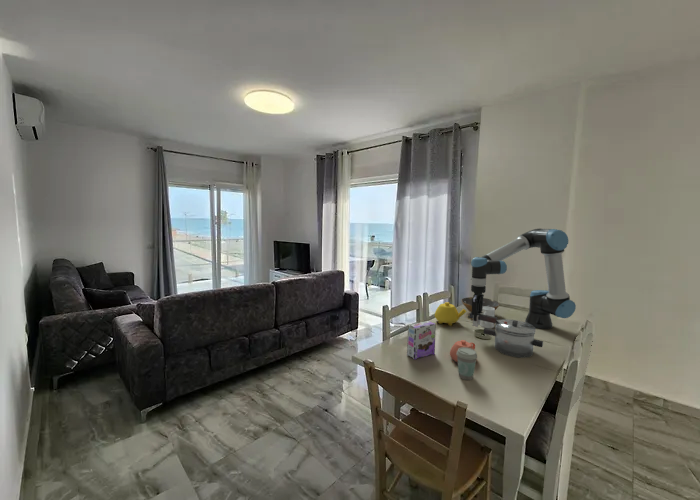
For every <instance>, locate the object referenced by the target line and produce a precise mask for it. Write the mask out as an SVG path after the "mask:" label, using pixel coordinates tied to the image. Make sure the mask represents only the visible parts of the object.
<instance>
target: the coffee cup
mask: <svg viewBox="0 0 700 500" xmlns="http://www.w3.org/2000/svg"><path fill="white" fill-rule="evenodd" d="M456 354H457V359H458V362H457V369H458V370H457V371H458V377H459V378H461V379H462V380H463V381H464V380H465V381H471V380H473V378H474V372H475V369H476V362H477V359H478V354H477V351H476V349H475V350H473V349H471V348H466V347H462V348H459V349H458V351H457V353H456Z"/></svg>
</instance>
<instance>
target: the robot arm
mask: <svg viewBox="0 0 700 500" xmlns="http://www.w3.org/2000/svg"><path fill="white" fill-rule="evenodd" d="M568 245H569V237H568V234H567V233H566V232H565V231H563V230H561V229H556V228H553V229H552V228H535V229H531V230H529V231H527V232H524V233H522V234H520V235H518V236H517V237H516V238H515V239H513V240H511V241H510V242H508V243H506V244H504V245H502V246H500V247H498V248H496V249H494V250H492V251H490V252H489V253H487V254H484V255H482V256H481V257H480V256H475V257H473V258H472V259H471V261H470V263H471V277H470V280H471V285H470V289H471V292H472V293H473V296H472V297H473V298H472V314H471V315H473V318H472V327H477V328H478V327H479V326H480V321H481V320H478V313H479V314H481V313H483V312H481V311H482V308H483V298H485V297H484V296H485V294H484V293H486V288H487V287H486V285H487V275H503V274H505V273H506V272H507V271H508V270H507V269H508V267H507V264H506V262H505V261H504V260H505V259H507V258H509V257H511V256H513V255H516V254H517V253H520V252H521V251H524V250H529V249H533V248H539V249H540V254H542V255H543V256H544V264H545V265H544V266H545V271H546V273H545V274H546V280H547V281H546V282H547V289H548V290H544V289H543V290H542V289H536V290H535V289H534V290H532V291H530V295H529V304H528V305H529V309H528V310H529V311H528V313H527V316H526V318H525V321H524V322H526V323H528V324H531V325H533V326H534V327H535V328H536V329H541V330H549V329H553V321H552V318H551V316H555V317H557V318H561V319H568V318H570V317H571V316H572V315H574V313H575V311H576V308H577V307H576V306H577V305H576V303H575V301H573V300H571V297H570V294H569V293H568V292H567V289H566V284H565V282H566V281H565V272H564V265H563V256H562V254H563V253H564V252H565V249H566V248H567V247H568Z"/></svg>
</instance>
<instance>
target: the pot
mask: <svg viewBox="0 0 700 500" xmlns="http://www.w3.org/2000/svg"><path fill="white" fill-rule="evenodd" d="M494 328H495V329H493V328H483V334H485V335H489V336H492V337H493V336H494V349H495V350H496V351H497V352H499V353H501V354H503V355H505V356H510V357H514V358H530V357H532V356H533V355H534V346H535V347H538V348H543V346H544V340H539V339H535V334H536V332H535V333H533V334H514V333H509V332H506V331H503V330H500V329H499V328H497V327H496V326H495V325H494Z"/></svg>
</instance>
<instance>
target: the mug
mask: <svg viewBox="0 0 700 500" xmlns="http://www.w3.org/2000/svg"><path fill="white" fill-rule="evenodd" d="M481 312H483V313H481V314H484V315H488V316H493V317H495V315H496V314H495V312H496V310H495V308H493V307H488V306H483V308H482V311H481ZM479 327H482V328H483V329H485V328H488V329H493V328H495V323H491V322H487V321H482V320H481V321H480V325H479Z"/></svg>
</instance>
